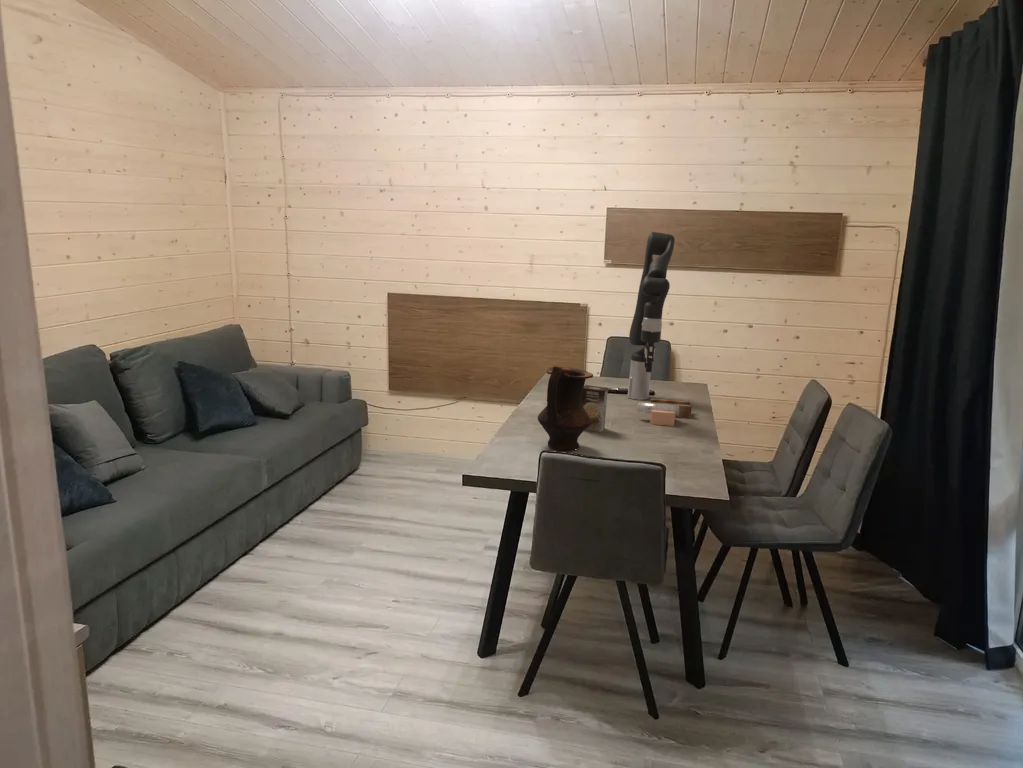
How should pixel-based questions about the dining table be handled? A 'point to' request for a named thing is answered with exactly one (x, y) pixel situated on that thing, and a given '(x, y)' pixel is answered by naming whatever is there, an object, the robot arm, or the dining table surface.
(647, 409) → the steel axle
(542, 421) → the jug
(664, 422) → the terracotta cradle
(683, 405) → the wooden channel bracket
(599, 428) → the coffee box
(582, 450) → the dining table surface
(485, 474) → the dining table surface
